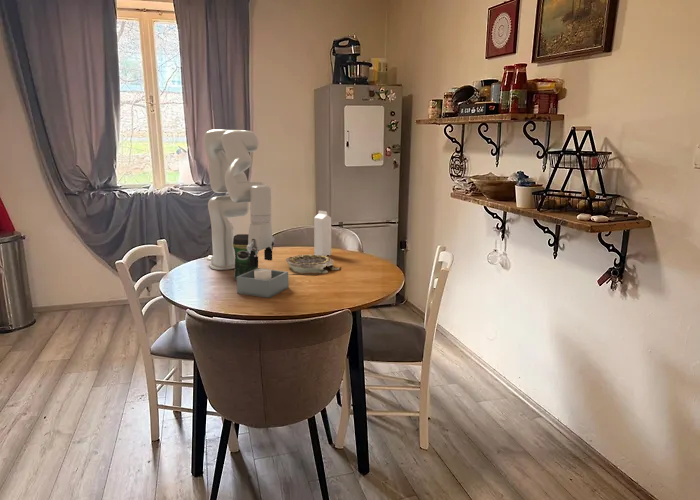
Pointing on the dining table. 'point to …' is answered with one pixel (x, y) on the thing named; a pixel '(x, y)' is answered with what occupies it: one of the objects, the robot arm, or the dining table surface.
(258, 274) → the cream rounded block
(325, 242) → the milk
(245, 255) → the coffee jar
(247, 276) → the tub
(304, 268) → the pie
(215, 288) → the dining table surface
